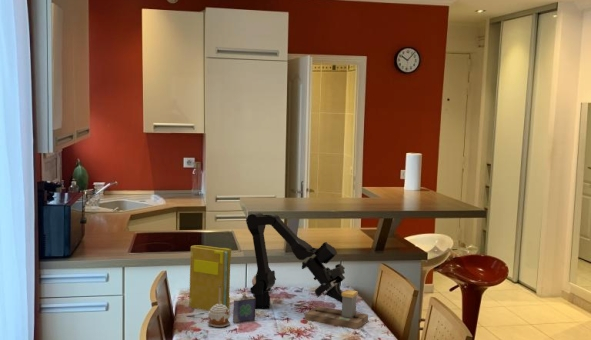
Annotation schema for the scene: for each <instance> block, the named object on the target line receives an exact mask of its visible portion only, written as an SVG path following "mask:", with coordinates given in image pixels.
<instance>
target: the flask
mask: <svg viewBox="0 0 591 340" xmlns="http://www.w3.org/2000/svg"><path fill="white" fill-rule="evenodd" d="M255 305H256V298H255V297H253V296H250V295H249V296H247V295H246V293H242V296H241V297H240V298H235V299H233V307H232V308H233V312H232V313H233V315H232V316H233V317H232V323H234V324H241V323H247V322H254V321H255V319H256V309H255Z"/></svg>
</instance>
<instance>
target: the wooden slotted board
mask: <svg viewBox="0 0 591 340" xmlns="http://www.w3.org/2000/svg"><path fill="white" fill-rule="evenodd" d="M304 320H305V321H310V322H315V323H321V324H326V325H332V326H337V327H342V328H343V327H344V328H347V329H354V330H359V329H360V328H361V327H362V326H364V325H365V324H366V323H367V322H368V321H369V314H365V313H361V312H356V315H355V316H353V318H349V317H343V316H342V309H337V308H336V309H335V308H332V307H325V306H319V305H317V306H315V307H313V308H312V309H310V310H308V311H307V312H305V313H304Z"/></svg>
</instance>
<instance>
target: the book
mask: <svg viewBox="0 0 591 340" xmlns="http://www.w3.org/2000/svg"><path fill="white" fill-rule="evenodd" d="M189 261H190V262H189V264H190V265H189V266H190V268H189V296H188V297H189V298H188V301H189V302H188V303H189V304H188V307H189V308H192V309H197V310H202V311H206V312H207V311H208V312H210V309H211V308H212V307H213V306H215V305H216V304H219V286H221V300H220V304H222V305H225V306H226V307H227V308H228V311H230V306H231V303H230V300H231V298H230V287H231V286H230V282H231V281H230V280H231V261H232V248H227V247H217V246H207V245H201V244H199V245H198V244H197V245H196V244H194V245H191V246H190V259H189Z"/></svg>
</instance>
